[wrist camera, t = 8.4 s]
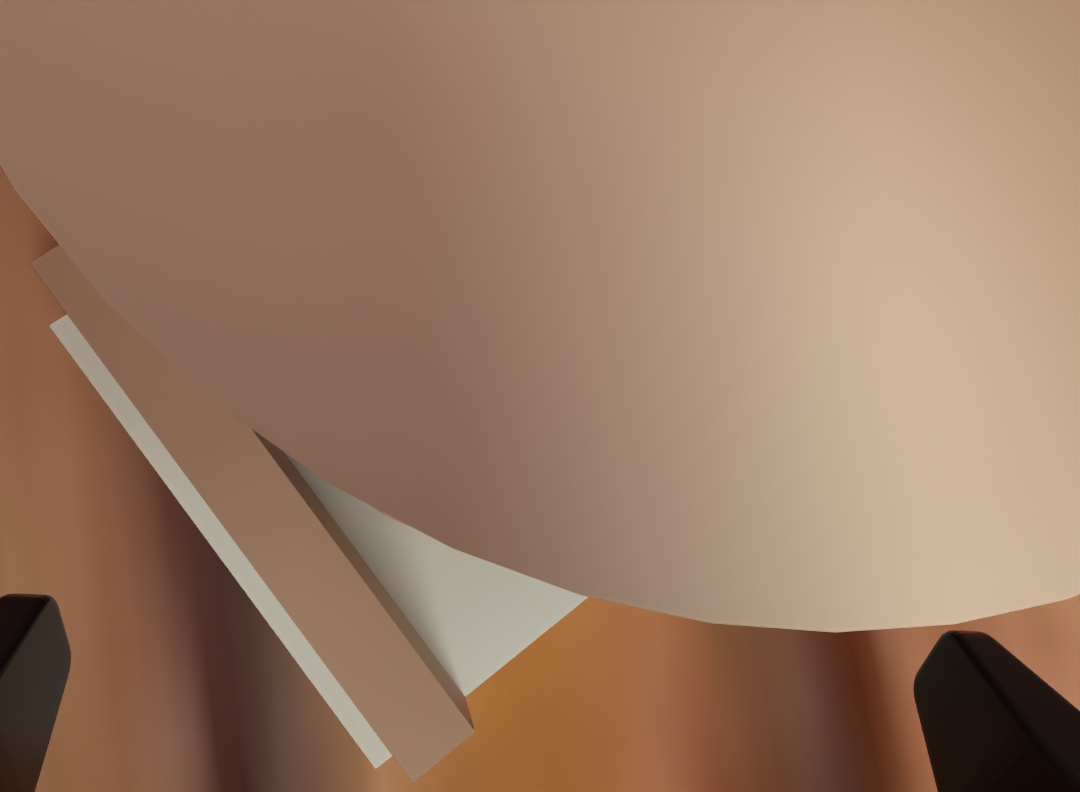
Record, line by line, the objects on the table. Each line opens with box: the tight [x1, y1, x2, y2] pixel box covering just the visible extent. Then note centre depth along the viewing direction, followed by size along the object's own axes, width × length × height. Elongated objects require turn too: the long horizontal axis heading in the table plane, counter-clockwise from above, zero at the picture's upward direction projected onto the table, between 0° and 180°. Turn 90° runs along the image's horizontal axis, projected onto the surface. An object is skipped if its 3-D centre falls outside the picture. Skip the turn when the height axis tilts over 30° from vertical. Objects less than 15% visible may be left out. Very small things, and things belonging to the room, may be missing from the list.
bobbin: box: [0, 0, 1080, 632], centre depth 10 cm, size 6×6×14 cm
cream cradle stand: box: [29, 245, 588, 783], centre depth 16 cm, size 12×10×4 cm
